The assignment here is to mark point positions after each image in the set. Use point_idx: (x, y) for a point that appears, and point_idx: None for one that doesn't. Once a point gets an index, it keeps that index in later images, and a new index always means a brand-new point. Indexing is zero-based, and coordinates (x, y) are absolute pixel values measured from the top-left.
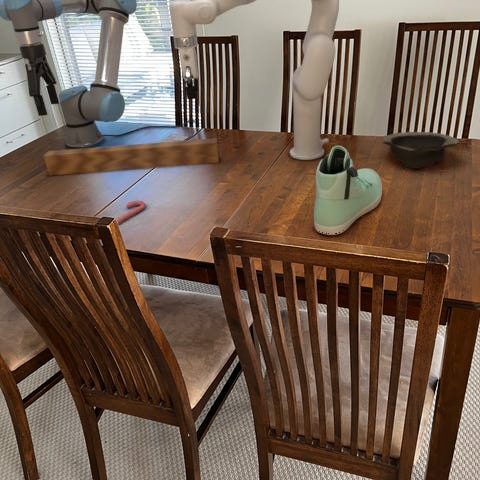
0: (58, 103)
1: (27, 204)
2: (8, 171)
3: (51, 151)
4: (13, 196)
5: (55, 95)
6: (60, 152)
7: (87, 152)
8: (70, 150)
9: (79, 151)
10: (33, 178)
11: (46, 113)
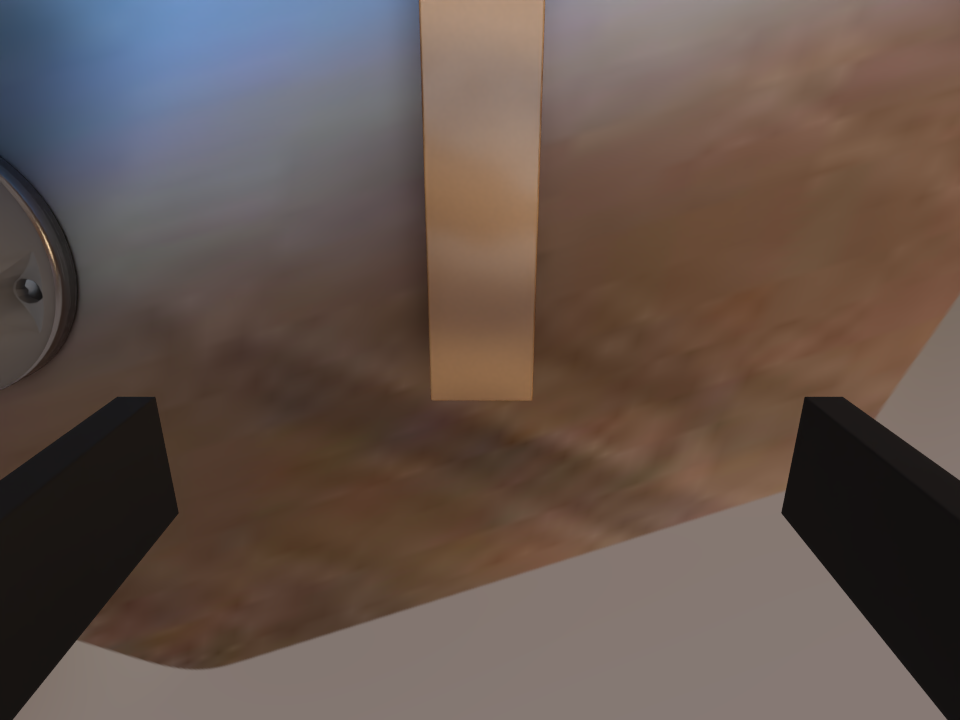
0: (151, 400)
1: (906, 350)
2: (408, 591)
3: (446, 369)
4: (767, 457)
5: (59, 494)
6: (483, 290)
7: (541, 30)
8: (453, 215)
9: (496, 121)
10: (541, 430)
11: (850, 409)
